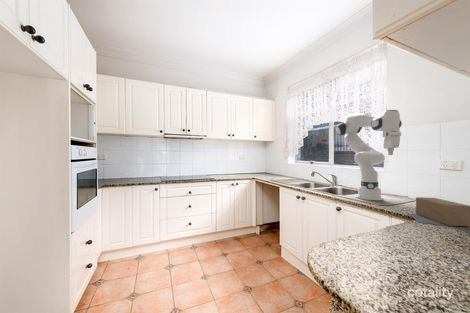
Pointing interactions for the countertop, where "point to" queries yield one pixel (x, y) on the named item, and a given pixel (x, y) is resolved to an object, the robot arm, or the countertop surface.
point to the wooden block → (443, 211)
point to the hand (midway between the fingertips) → (390, 155)
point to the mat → (425, 220)
